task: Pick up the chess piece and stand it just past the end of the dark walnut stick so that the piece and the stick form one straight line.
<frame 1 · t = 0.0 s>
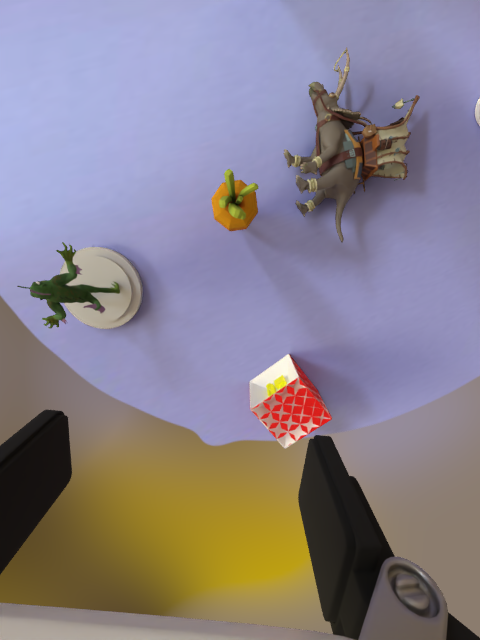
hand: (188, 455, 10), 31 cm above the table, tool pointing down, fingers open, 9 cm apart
carrot: (237, 217, 38), on the table
red patterned box: (282, 385, 44), on the table
figurine: (349, 156, 36), on the table
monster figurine: (103, 288, 40), on the table
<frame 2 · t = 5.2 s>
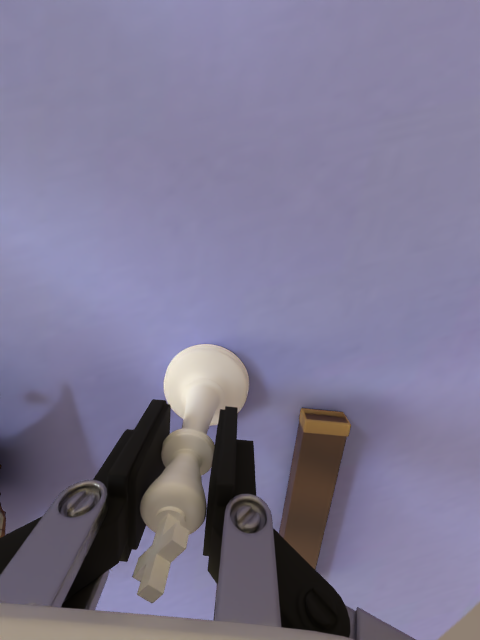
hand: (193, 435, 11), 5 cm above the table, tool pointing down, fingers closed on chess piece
walnut stick: (303, 501, 18), on the table
chess piece: (207, 381, 16), on the table, touching gripper
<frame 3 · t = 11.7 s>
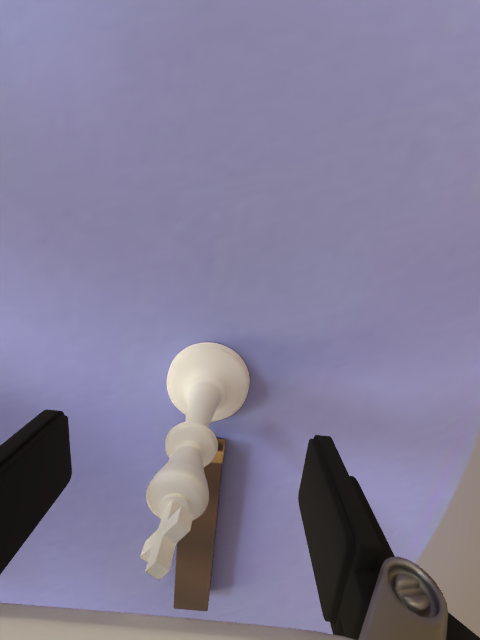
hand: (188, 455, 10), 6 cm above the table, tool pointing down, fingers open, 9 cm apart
walnut stick: (198, 520, 19), on the table
chess piece: (209, 378, 16), on the table
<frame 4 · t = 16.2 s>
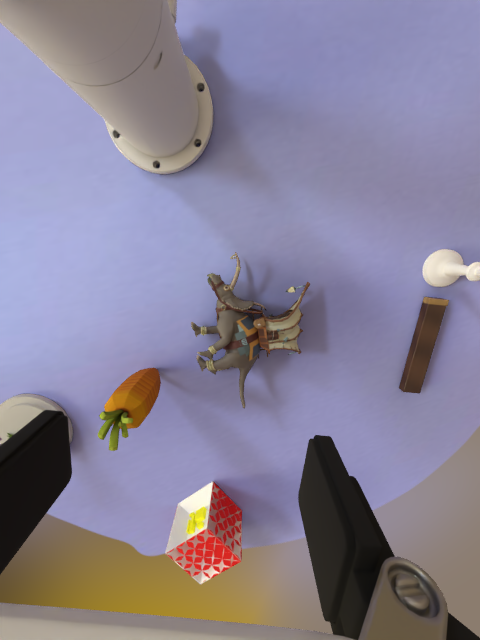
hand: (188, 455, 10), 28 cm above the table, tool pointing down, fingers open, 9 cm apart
carrot: (155, 369, 41), on the table
red patterned box: (209, 506, 47), on the table
figurine: (254, 321, 38), on the table
walnut stick: (419, 345, 39), on the table
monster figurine: (36, 426, 43), on the table
chess piece: (440, 268, 36), on the table
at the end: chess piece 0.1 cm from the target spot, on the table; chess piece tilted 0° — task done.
